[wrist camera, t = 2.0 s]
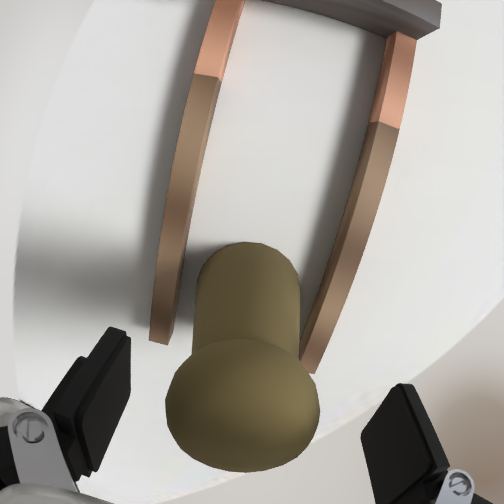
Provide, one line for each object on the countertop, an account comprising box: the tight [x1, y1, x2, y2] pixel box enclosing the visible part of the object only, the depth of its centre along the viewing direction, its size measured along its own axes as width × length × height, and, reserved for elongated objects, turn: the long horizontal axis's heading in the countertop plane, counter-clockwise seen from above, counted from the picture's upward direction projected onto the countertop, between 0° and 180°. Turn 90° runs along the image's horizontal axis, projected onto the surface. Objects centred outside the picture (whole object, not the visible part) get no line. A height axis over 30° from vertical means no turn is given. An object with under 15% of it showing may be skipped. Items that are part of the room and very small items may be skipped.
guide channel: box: [149, 0, 442, 374], centre depth 14 cm, size 22×10×4 cm, turn 167°
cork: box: [165, 242, 320, 473], centre depth 13 cm, size 6×6×11 cm
